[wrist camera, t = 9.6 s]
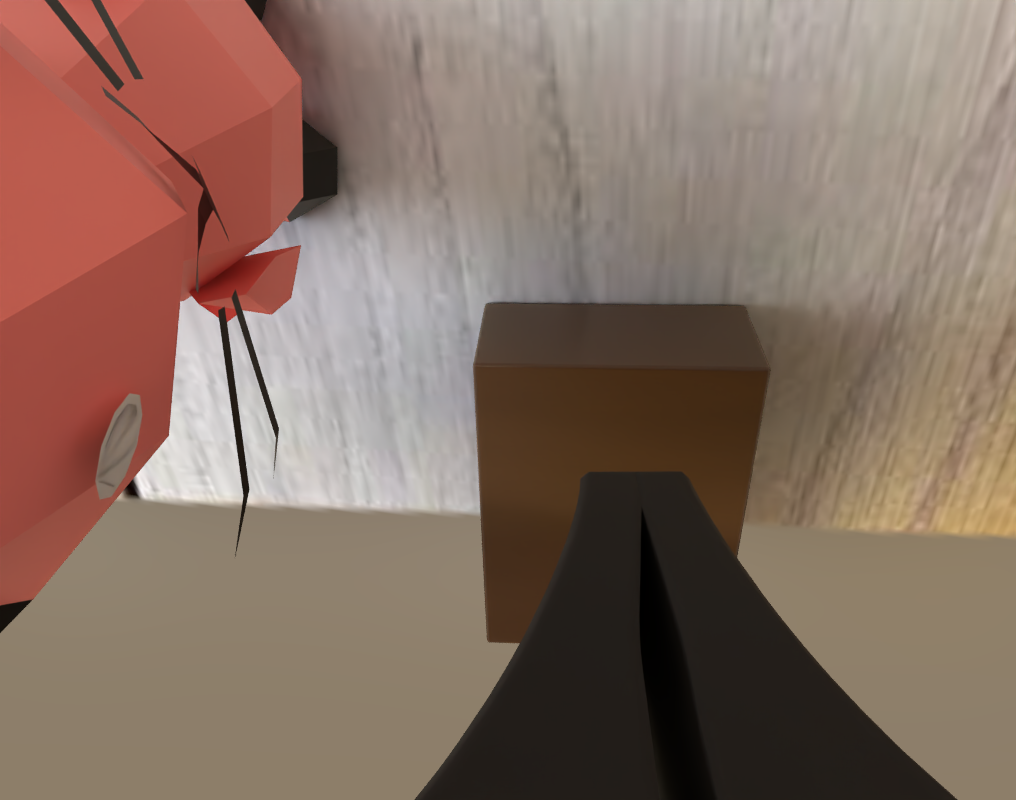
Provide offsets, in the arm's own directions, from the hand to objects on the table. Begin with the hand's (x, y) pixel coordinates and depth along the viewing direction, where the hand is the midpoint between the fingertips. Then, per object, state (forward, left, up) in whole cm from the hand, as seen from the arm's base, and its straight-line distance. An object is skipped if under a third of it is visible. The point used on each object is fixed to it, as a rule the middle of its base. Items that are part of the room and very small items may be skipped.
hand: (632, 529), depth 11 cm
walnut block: (+1, 0, -5) cm, 5 cm away
